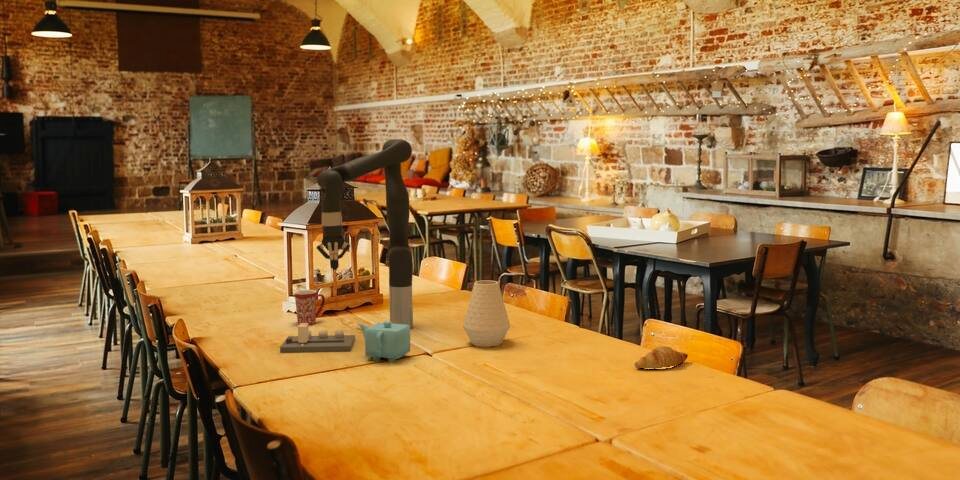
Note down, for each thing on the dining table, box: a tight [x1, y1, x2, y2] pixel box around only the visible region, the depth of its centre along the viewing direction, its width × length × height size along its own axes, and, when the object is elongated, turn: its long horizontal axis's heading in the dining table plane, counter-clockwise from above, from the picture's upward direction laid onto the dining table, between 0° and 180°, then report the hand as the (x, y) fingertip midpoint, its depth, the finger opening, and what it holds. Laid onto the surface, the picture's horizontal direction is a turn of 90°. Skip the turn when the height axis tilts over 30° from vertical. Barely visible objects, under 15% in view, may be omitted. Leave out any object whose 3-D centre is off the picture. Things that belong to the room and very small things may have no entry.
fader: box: [297, 323, 310, 343], centre depth 293 cm, size 3×5×6 cm, turn 3°
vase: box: [462, 279, 511, 348], centre depth 296 cm, size 18×17×23 cm
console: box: [279, 329, 356, 354], centre depth 295 cm, size 25×16×4 cm, turn 93°
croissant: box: [634, 346, 689, 369], centre depth 266 cm, size 21×10×8 cm, turn 116°
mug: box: [293, 289, 326, 326], centre depth 331 cm, size 13×9×14 cm
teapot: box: [356, 320, 411, 363], centre depth 279 cm, size 18×16×13 cm
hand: (334, 269), depth 302 cm, fingers closed
